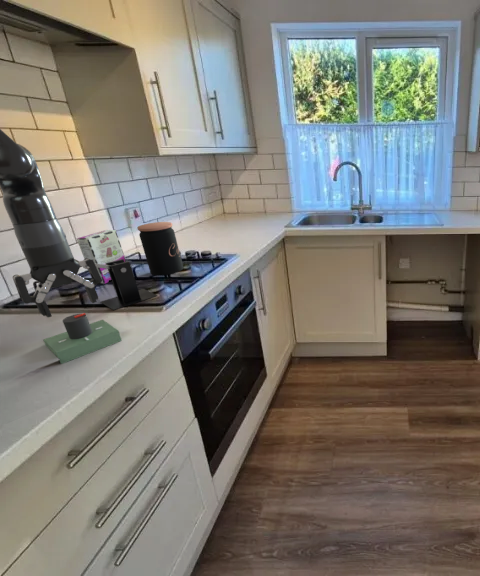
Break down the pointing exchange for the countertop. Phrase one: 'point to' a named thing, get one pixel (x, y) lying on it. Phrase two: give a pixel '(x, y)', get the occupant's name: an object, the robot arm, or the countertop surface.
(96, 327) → the panel
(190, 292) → the countertop surface
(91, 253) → the candy bar box
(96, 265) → the press lever
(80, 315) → the knob
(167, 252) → the coffee jar
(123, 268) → the bracket
